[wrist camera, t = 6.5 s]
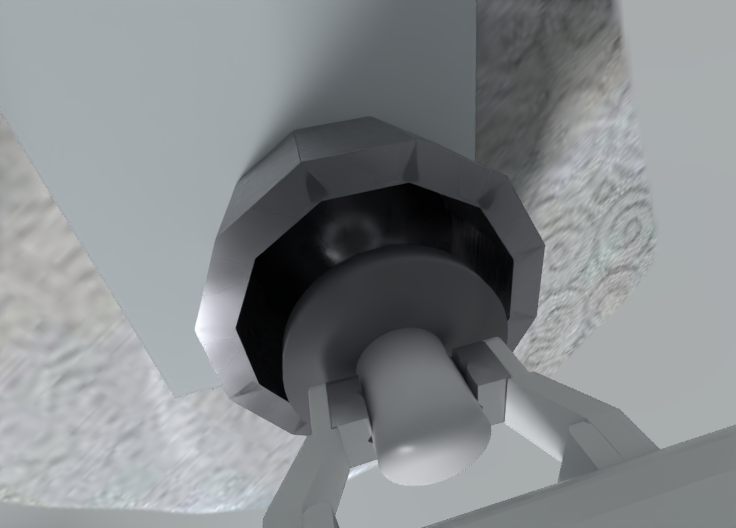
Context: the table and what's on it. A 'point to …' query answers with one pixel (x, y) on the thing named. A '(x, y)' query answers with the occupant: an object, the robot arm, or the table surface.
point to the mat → (208, 121)
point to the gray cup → (350, 241)
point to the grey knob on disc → (398, 354)
